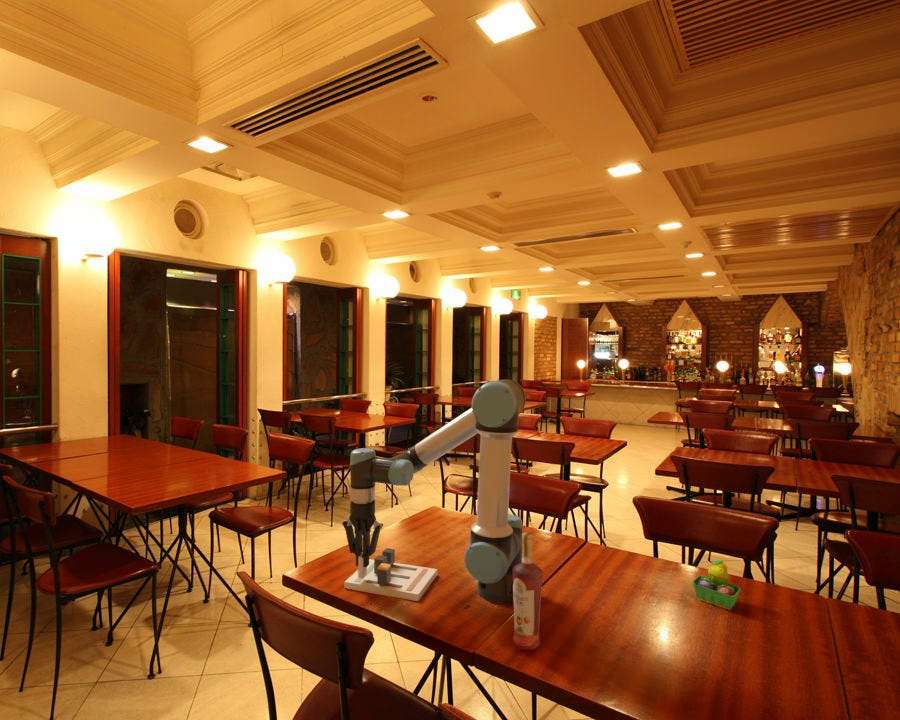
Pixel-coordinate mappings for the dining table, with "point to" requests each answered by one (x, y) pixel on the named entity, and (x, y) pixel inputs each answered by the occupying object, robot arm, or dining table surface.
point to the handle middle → (379, 562)
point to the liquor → (527, 598)
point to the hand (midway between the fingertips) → (362, 576)
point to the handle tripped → (384, 574)
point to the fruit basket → (716, 586)
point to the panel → (395, 581)
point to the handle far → (389, 555)
